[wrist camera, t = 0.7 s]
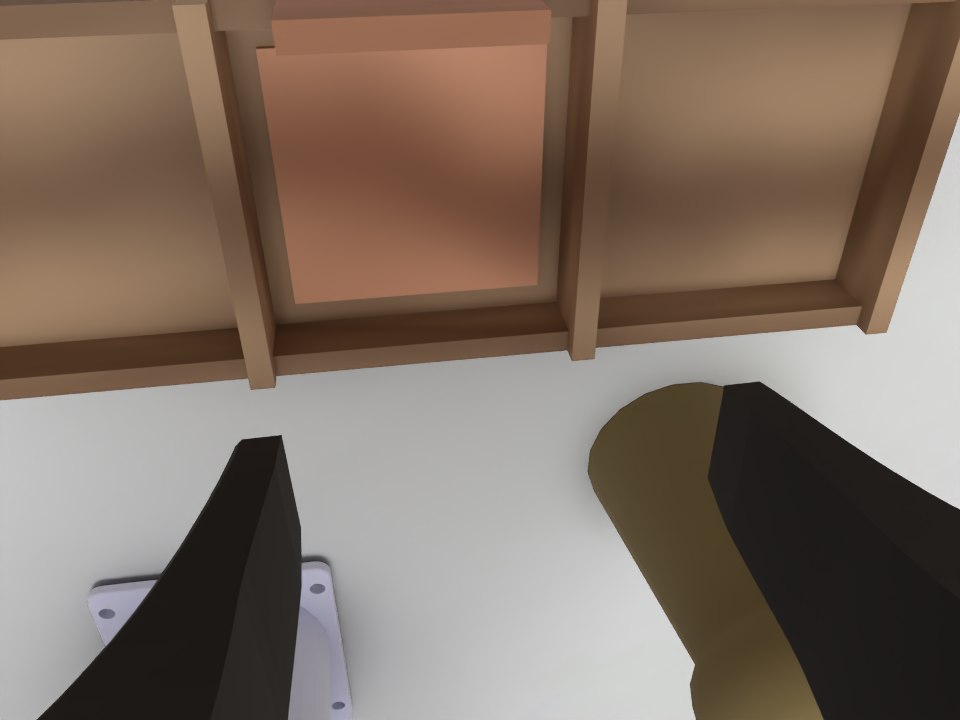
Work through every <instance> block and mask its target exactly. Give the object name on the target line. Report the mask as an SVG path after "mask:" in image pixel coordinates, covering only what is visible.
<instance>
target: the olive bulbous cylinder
mask: <svg viewBox="0 0 960 720" xmlns="http://www.w3.org/2000/svg"><path fill="white" fill-rule="evenodd" d="M723 390H724V387H721V386H716V385H711V384H706V383H689V384H677V385H671V386H668V387H665V388H662V389H659V390H656V391H653V392H650V393H647V394H645V395H643V396H641V397H640V398H638V399H637V400H635V401H633V402H632V403H630V404H629V405H627V406H625V407H624V408H622V409H621V410H619V412H618V413H617V414H616V415H615V416H614V417H613V418H612V419H611V420H610V421H609V422H608V423H607V424H606V425H605V426H604V427H603V428H602V429H601V431H600V433H599V435H598V437H597V439H596V441H595V443H594V445H593V447H592V448H591V450H590V457H589V466H588V474H589V477H590V480H591V483H592V486H593V489H594V492H595V493H596V495H597V497H598V498H599V500H600V502H601V504H602V505H603V507H604V509H605V510H606V512H607V514H608V516H609V517H610V519H611V521H612V523H613V524H614V526H615V528H616V529H617V531H618V533H619V535H620V536H621V538H622V540H623V541H624V543H625V545H626V547H627V548H628V550H629V552H630V553H631V555H632V557H633V559H634V560H635V562H636V564H637V565H638V567H639V569H640V571H641V572H642V574H643V576H644V578H645V579H646V581H647V583H648V584H649V586H650V588H651V590H652V591H653V593H654V595H655V596H656V598H657V600H658V602H659V603H660V605H661V607H662V608H663V610H664V612H665V614H666V615H667V617H668V619H669V621H670V622H671V624H672V626H673V627H674V629H675V631H676V633H677V634H678V636H679V638H680V639H681V641H682V643H683V645H684V646H685V648H686V650H687V651H688V653H689V655H690V657H691V658H692V660H693V662H694V664H695V667H694V671H693V675H692V679H691V683H690V689H691V698H692V707H693V710H694V714H695V717H696V720H824V719H823V717H822V714H821V712H820V710H819V707H818V705H817V703H816V700H815V698H814V696H813V693H812V691H811V688H810V686H809V684H808V681H807V679H806V677H805V674H804V672H803V670H802V668H801V666H800V664H799V662H798V660H797V658H796V656H795V654H794V652H793V650H792V648H791V646H790V644H789V642H788V640H787V638H786V636H785V634H784V633H783V631H782V629H781V627H780V625H779V624H778V622H777V620H776V618H775V616H774V615H773V613H772V611H771V609H770V607H769V606H768V604H767V602H766V600H765V598H764V597H763V595H762V593H761V591H760V589H759V588H758V586H757V584H756V582H755V580H754V579H753V577H752V575H751V573H750V571H749V569H748V568H747V566H746V564H745V562H744V560H743V558H742V557H741V555H740V553H739V551H738V549H737V547H736V545H735V544H734V542H733V540H732V538H731V536H730V534H729V532H728V530H727V528H726V525H725V523H724V520H723V518H722V515H721V513H720V510H719V508H718V505H717V502H716V500H715V497H714V494H713V491H712V489H711V486H710V483H709V480H708V478H707V477H708V472H709V466H710V461H711V455H712V450H713V444H714V439H715V433H716V428H717V423H718V417H719V412H720V406H721V401H722V395H723Z"/></svg>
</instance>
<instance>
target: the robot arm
mask: <svg viewBox="0 0 960 720" xmlns="http://www.w3.org/2000/svg"><path fill="white" fill-rule="evenodd" d="M707 478H708V480H709V483H710V486H711V489H712V491H713V494H714V497H715V500H716V502H717V505H718V508H719V510H720V513H721V515H722V518H723V520H724V523H725V525H726V528H727V530H728V532H729V534H730V536H731V538H732V540H733V542H734V544H735V545H736V547H737V549H738V551H739V553H740V555H741V557H742V558H743V560H744V562H745V564H746V566H747V568H748V569H749V571H750V573H751V575H752V577H753V579H754V580H755V582H756V584H757V586H758V588H759V589H760V591H761V593H762V595H763V597H764V598H765V600H766V602H767V604H768V606H769V607H770V609H771V611H772V613H773V615H774V616H775V618H776V620H777V622H778V624H779V625H780V627H781V629H782V631H783V633H784V634H785V636H786V638H787V640H788V642H789V644H790V646H791V648H792V650H793V652H794V654H795V656H796V658H797V660H798V662H799V664H800V666H801V668H802V670H803V672H804V674H805V677H806V679H807V681H808V684H809V686H810V688H811V691H812V693H813V696H814V698H815V700H816V703H817V705H818V707H819V710H820V712H821V714H822V717H823V719H824V720H960V509H958V508H956V507H954V506H952V505H950V504H948V503H946V502H945V501H943V500H941V499H939V498H937V497H936V496H934V495H932V494H930V493H929V492H927V491H925V490H923V489H922V488H920V487H918V486H917V485H915V484H913V483H912V482H910V481H908V480H907V479H905V478H903V477H902V476H900V475H898V474H897V473H895V472H893V471H892V470H890V469H889V468H887V467H886V466H884V465H882V464H881V463H879V462H878V461H876V460H875V459H873V458H871V457H870V456H868V455H867V454H865V453H864V452H862V451H861V450H859V449H858V448H856V447H855V446H853V445H852V444H850V443H849V442H847V441H846V440H844V439H843V438H841V437H840V436H838V435H837V434H836V433H834V432H833V431H831V430H830V429H828V428H827V427H825V426H824V425H823V424H821V423H820V422H818V421H817V420H815V419H814V418H812V417H811V416H810V415H808V414H807V413H805V412H804V411H802V410H801V409H800V408H798V407H797V406H795V405H794V404H792V403H791V402H790V401H788V400H787V399H785V398H784V397H782V396H781V395H779V394H778V393H776V392H775V391H773V390H772V389H770V388H769V387H767V386H766V385H764V384H763V383H761V382H752V383H743V384H734V385H725V386H724V390H723V395H722V401H721V406H720V412H719V417H718V423H717V428H716V433H715V439H714V444H713V450H712V455H711V461H710V466H709V472H708V477H707ZM314 584H320V585H314ZM87 605H88V607H89V610H90V612H91V614H92V617H93V619H94V621H95V624H96V626H97V628H98V631H99V633H100V635H101V638H102V640H103V642H104V645H105V648H104V649H103V650H102V651H101V652H100V654H99V655H98V656H97V657H96V658H95V659H94V660H93V661H92V663H91V664H90V665H89V666H88V667H87V668H86V669H85V670H84V671H83V673H82V674H81V675H80V676H79V677H78V678H77V679H76V680H75V682H74V683H73V684H72V685H71V686H70V687H69V688H68V689H67V690H66V691H65V692H64V693H63V694H62V695H61V696H60V697H59V698H58V699H57V700H56V701H55V702H54V703H53V704H52V705H51V706H50V707H49V708H48V709H47V710H46V711H45V712H44V713H43V714H42V715H41V716H40V717H39V718H38V719H37V720H353V706H352V700H351V694H350V687H349V681H348V675H347V669H346V663H345V656H344V650H343V644H342V638H341V632H340V625H339V619H338V613H337V607H336V600H335V594H334V588H333V582H332V576H331V570H330V567H329V566H328V565H327V564H325V563H323V562H315V561H314V562H306V563H302V559H301V526H300V521H299V517H298V512H297V507H296V502H295V497H294V493H293V488H292V483H291V478H290V473H289V469H288V464H287V459H286V454H285V450H284V445H283V440H282V435H279V436H270V437H261V438H252V439H243V440H241V441H240V442H239V443H238V444H237V445H236V447H235V449H234V451H233V453H232V455H231V457H230V459H229V461H228V463H227V465H226V467H225V469H224V471H223V473H222V475H221V477H220V479H219V481H218V483H217V485H216V487H215V488H214V490H213V492H212V494H211V496H210V497H209V499H208V501H207V503H206V505H205V506H204V508H203V510H202V511H201V513H200V515H199V516H198V518H197V520H196V521H195V523H194V525H193V526H192V528H191V530H190V531H189V533H188V535H187V536H186V538H185V540H184V541H183V543H182V544H181V546H180V547H179V549H178V550H177V552H176V553H175V555H174V556H173V558H172V559H171V561H170V562H169V564H168V565H167V567H166V568H165V570H164V571H163V572H162V574H161V575H160V577H159V578H158V579H157V580H149V581H140V582H131V583H123V584H114V585H105V586H99V587H96V588H94V589H92V590H91V592H90V593H89V596H88V600H87Z"/></svg>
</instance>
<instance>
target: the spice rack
mask: <svg viewBox="0 0 960 720" xmlns="http://www.w3.org/2000/svg"><path fill="white" fill-rule="evenodd" d="M959 113H960V0H0V400H9V399H21V398H32V397H43V396H55V395H66V394H77V393H89V392H100V391H111V390H123V389H134V388H145V387H157V386H168V385H179V384H191V383H202V382H213V381H225V380H236V379H247V378H248V379H249V384H250V388H251V390H254V389H266V388H275V385H276V376H281V375H293V374H304V373H315V372H326V371H338V370H349V369H360V368H372V367H383V366H394V365H406V364H417V363H428V362H440V361H451V360H462V359H474V358H485V357H496V356H508V355H519V354H530V353H542V352H553V351H564V350H568V352H569V355H570V357H571V360H572V361H577V360H588V359H594V358H595V348H598V347H610V346H621V345H632V344H644V343H655V342H666V341H678V340H689V339H700V338H712V337H723V336H734V335H746V334H757V333H768V332H780V331H791V330H802V329H814V328H825V327H836V326H848V325H857V326H858V327H859V328H860V329H861V330H862V331H863V332H864V333H865V334H877V333H887V330H888V327H889V324H890V321H891V318H892V315H893V312H894V309H895V306H896V303H897V300H898V296H899V293H900V290H901V287H902V284H903V281H904V278H905V275H906V272H907V269H908V266H909V263H910V260H911V257H912V254H913V251H914V248H915V245H916V242H917V239H918V236H919V233H920V230H921V227H922V224H923V221H924V218H925V215H926V212H927V209H928V206H929V203H930V200H931V197H932V194H933V191H934V188H935V185H936V182H937V179H938V176H939V173H940V170H941V167H942V164H943V161H944V158H945V155H946V152H947V149H948V146H949V143H950V140H951V137H952V134H953V131H954V128H955V125H956V122H957V119H958V116H959Z"/></svg>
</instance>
